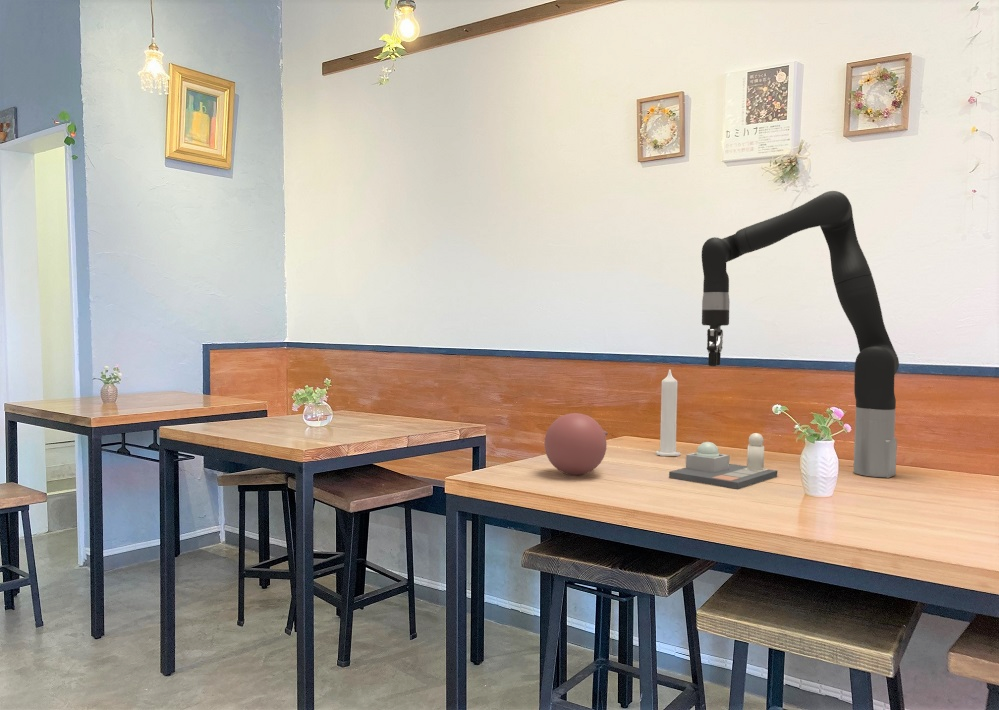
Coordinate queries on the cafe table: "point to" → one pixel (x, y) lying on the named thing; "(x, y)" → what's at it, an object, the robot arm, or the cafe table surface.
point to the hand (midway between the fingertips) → (714, 365)
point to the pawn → (755, 453)
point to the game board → (720, 472)
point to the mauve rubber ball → (575, 444)
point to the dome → (708, 450)
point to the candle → (668, 417)
